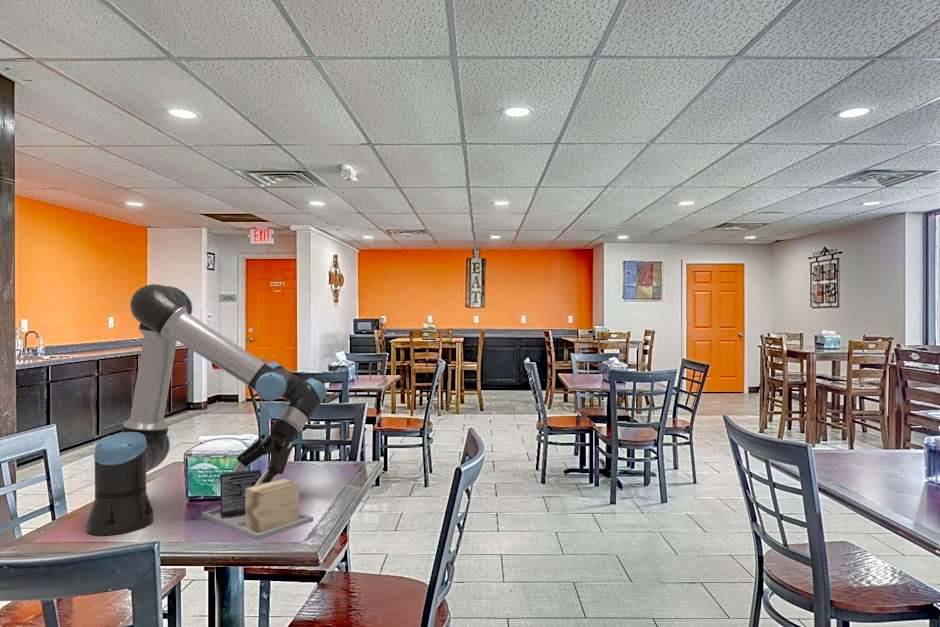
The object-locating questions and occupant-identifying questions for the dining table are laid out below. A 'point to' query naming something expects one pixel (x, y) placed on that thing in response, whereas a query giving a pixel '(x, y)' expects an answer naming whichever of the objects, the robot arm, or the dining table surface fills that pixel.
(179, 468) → the dining table surface
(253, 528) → the block
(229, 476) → the small box
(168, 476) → the dining table surface
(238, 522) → the tray
